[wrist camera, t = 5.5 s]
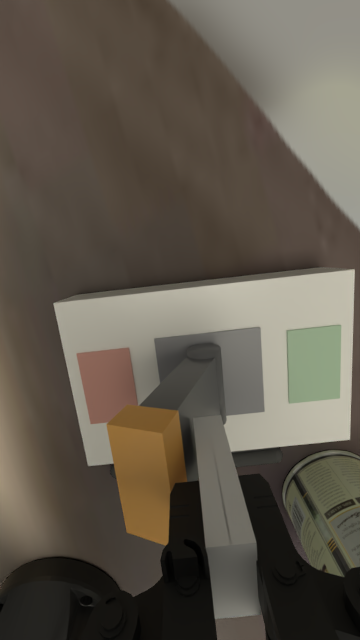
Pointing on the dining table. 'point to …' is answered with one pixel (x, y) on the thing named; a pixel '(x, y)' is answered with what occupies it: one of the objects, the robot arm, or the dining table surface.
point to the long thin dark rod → (247, 457)
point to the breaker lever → (164, 440)
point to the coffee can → (326, 509)
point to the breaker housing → (236, 352)
